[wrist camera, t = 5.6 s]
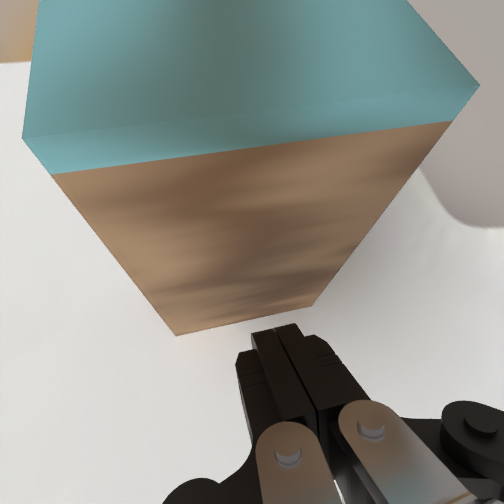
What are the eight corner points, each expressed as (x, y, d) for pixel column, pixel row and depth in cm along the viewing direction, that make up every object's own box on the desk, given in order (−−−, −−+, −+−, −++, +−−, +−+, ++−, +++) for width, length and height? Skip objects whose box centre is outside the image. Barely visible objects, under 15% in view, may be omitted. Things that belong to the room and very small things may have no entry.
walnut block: (292, 247, 20) (389, -19, 8) (311, 305, 18) (480, 85, 6) (167, 271, 19) (39, -1, 6) (175, 336, 17) (21, 138, 5)
